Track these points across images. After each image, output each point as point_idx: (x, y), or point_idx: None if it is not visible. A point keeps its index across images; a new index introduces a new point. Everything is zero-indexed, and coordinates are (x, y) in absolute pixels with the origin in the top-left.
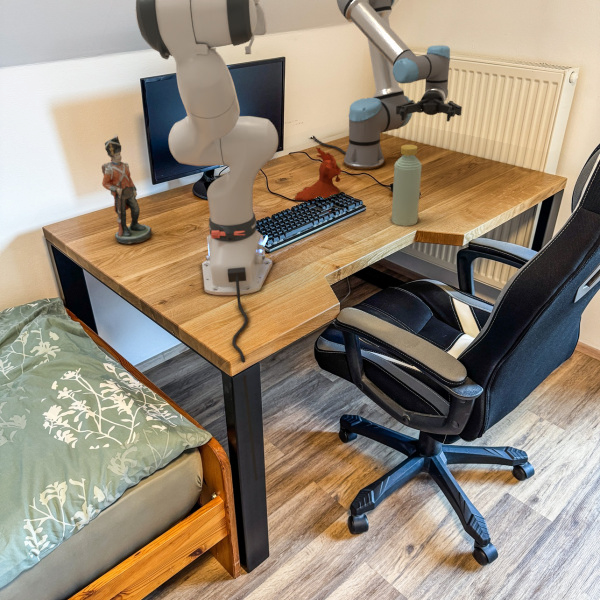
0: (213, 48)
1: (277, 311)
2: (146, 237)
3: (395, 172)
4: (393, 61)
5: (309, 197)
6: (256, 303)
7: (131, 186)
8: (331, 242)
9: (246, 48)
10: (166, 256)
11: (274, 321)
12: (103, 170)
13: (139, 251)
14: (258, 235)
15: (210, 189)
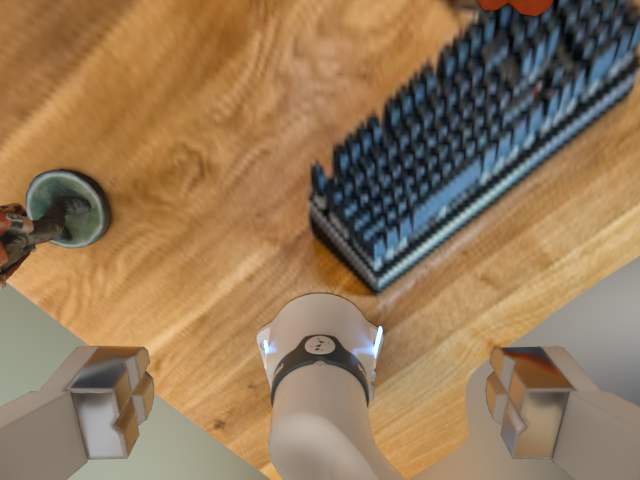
0: (101, 443)
1: (388, 451)
2: (106, 228)
3: None
4: None
5: (500, 1)
6: None
7: (5, 230)
8: (505, 259)
9: (525, 448)
10: (176, 293)
11: None
12: None
13: (113, 270)
14: (368, 377)
15: (279, 474)
